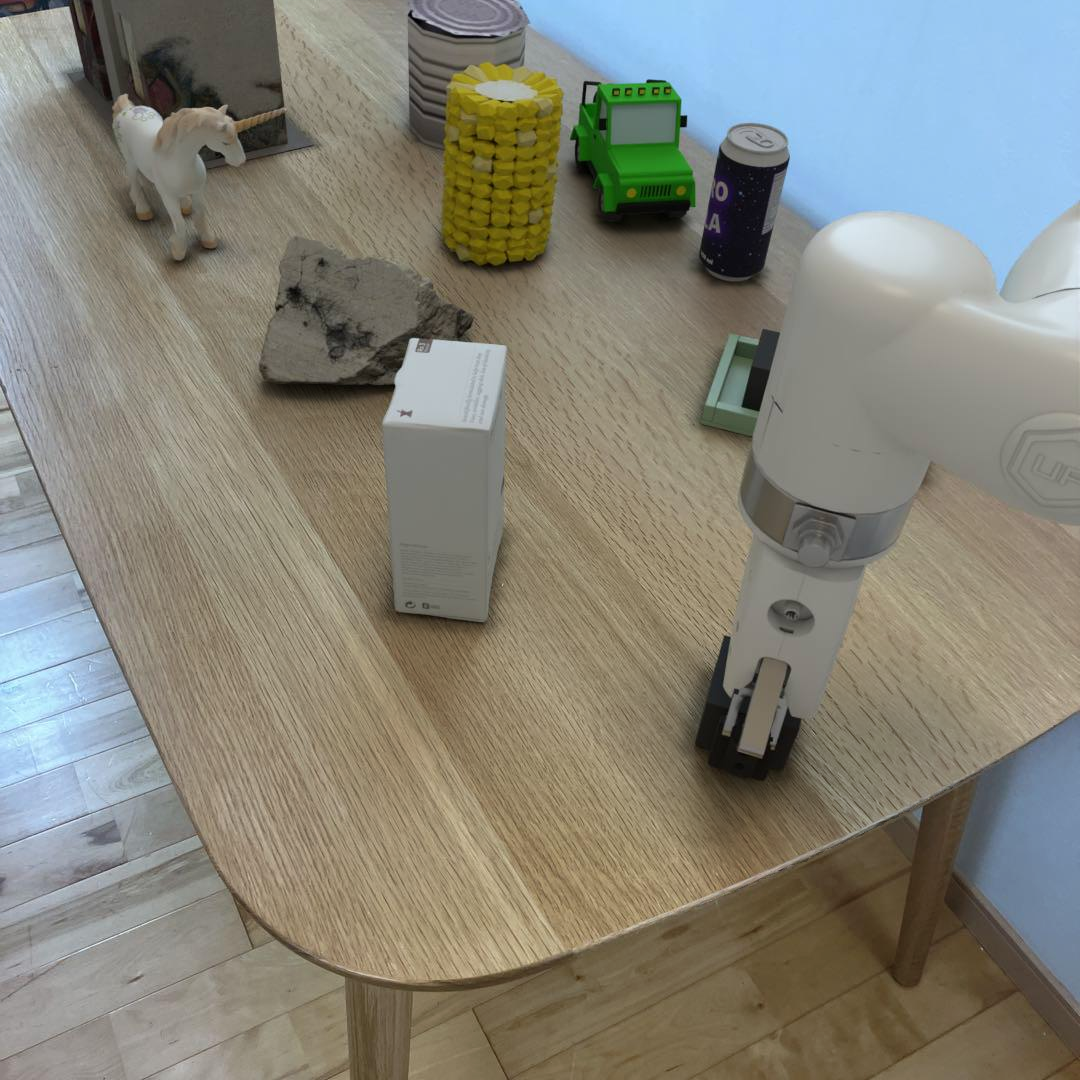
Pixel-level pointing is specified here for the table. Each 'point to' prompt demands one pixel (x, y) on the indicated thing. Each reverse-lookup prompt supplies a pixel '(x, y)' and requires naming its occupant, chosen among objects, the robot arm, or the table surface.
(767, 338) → the black block
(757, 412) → the tray
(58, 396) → the table surface
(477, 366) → the cosmetic box
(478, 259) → the food
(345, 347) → the stone
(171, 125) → the unicorn figurine
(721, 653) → the black cube
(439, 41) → the can
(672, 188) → the toy car
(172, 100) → the bookend
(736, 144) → the beverage can
